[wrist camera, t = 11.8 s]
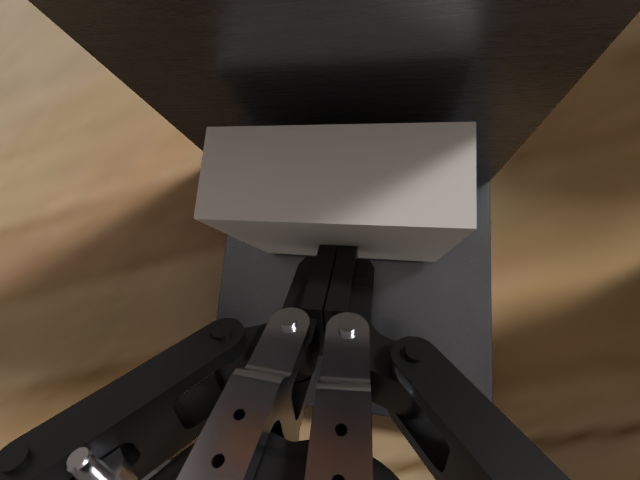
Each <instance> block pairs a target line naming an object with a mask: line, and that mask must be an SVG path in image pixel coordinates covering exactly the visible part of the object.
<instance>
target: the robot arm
mask: <svg viewBox="0 0 640 480" xmlns="http://www.w3.org/2000/svg"><path fill="white" fill-rule="evenodd" d="M374 271H375V268H374V267H373V265H372V263H371V261H370V260H364V259H358V247H357V246H339V247H338V246H336V245H320V246H319V249H318V252H317V255H316V257H310V256H306V257H305V258H304V259H303V260H302V261H301V262H300V263H299V264H298V267H297V270H296V272H295V275H294V278H293V282H292V283H291V286H290V289H289V291H288V294H287V297H286V299H285V302H284V305H283V308H282V309H281V310H279V311H277V312H276V313H274V314H273V315H272V316H271V318H270V319H269V321H268V323H265V324H262V325H257V326H252V327H246V328H244V327H243V324H242V323H241V322H240V321H239V320H237V319H234V318H222V319H219V320H216V321H214V322H212V323H211V324H209V325H207V326H206V327H204V328H202V329H201V330H199V331H197V332H195V333H194V334H192V335H190V336H189V337H187V338H185V339H184V340H182V341H180V342H179V343H177V344H175V345H174V346H172V347H170V348H169V349H167V350H165V351H163V352H162V353H160V354H158V355H157V356H155V357H153V358H152V359H150V360H148V361H147V362H145V363H143V364H142V365H140V366H138V367H137V368H135V369H133V370H131V371H130V372H128V373H126V374H125V375H123V376H121V377H120V378H118V379H116V380H115V381H113V382H111V383H110V384H108V385H106V386H104V387H103V388H101V389H99V390H98V391H96V392H94V393H93V394H91V395H89V396H88V397H86V398H84V399H83V400H81V401H79V402H78V403H76V404H74V405H72V406H71V407H69V408H67V409H66V410H64V411H62V412H61V413H59V414H57V415H56V416H54V417H52V418H51V419H49V420H47V421H46V422H44V423H42V424H40V425H39V426H37V427H35V428H34V429H32V430H30V431H29V432H27V433H25V434H24V435H22V436H20V437H19V438H17V439H15V440H14V441H12V442H11V443H9V444H8V445H7V446H5V447H4V448H3V449H2V450H1V451H0V480H141V479H143V478H144V477H145V476H147V475H148V474H149V473H151V472H152V471H153V470H154V469H156V468H157V467H158V466H160V465H161V464H162V463H164V462H165V461H166V460H168V459H169V458H170V457H171V456H173V455H174V454H175V453H177V452H178V451H179V450H181V449H182V448H183V447H184V446H186V445H187V444H188V443H190V442H191V441H192V440H194V439H195V438H196V437H197V436H199V437H198V439H197V441H196V443H194V444H192V445H191V446H189V447H188V448H186V449H185V450H184V451H183V452H181V453H180V454H179V455H178V456H176V457H175V458H174V459H173V460H172V461H170V462H169V463H168V464H167V465H165V466H164V467H163V468H162V469H161V470H159V471H158V472H157V473H156V474H154V475H153V476H152V477H151V478H149V479H148V480H399V479H398V477H397V476H396V475H395V474H394V473H393V472H392V471H391V470H390V469H388V468H387V467H386V466H385V465H384V464H382V463H381V462H379V461H378V460H376V459H375V458H373V457H372V410H371V401H372V402H374V403H376V404H378V405H380V406H382V407H384V408H386V409H387V410H388V413H389V415H390V417H391V418H392V420H393V421H394V422H395V424H396V425H397V426H398V428H399V429H400V431H401V432H402V433H403V435H404V436H405V438H406V439H407V440H408V442H409V443H410V445H411V446H412V447H413V449H414V450H415V451H416V453H417V454H418V456H419V457H420V458H421V460H422V461H423V463H424V464H425V465H426V467H427V468H428V470H429V471H430V472H431V474H432V475H433V476H434V478H435V479H436V480H570V479H569V478H568V477H567V476H566V475H565V474H564V473H563V472H562V471H561V470H560V469H559V468H558V467H557V466H556V465H555V464H554V463H553V462H552V461H551V460H550V459H549V458H548V457H547V456H546V455H545V454H544V453H543V452H542V451H541V450H540V449H539V448H538V447H537V446H536V445H535V444H534V443H532V442H531V441H530V440H529V439H528V438H527V437H526V436H525V435H524V434H523V433H522V432H521V431H520V430H519V429H518V428H517V427H516V426H515V425H514V424H513V423H512V422H511V421H510V420H509V419H508V418H507V417H506V416H505V415H504V414H503V413H502V412H501V411H500V410H499V409H498V408H497V407H496V406H495V405H494V404H493V403H492V402H491V401H490V400H489V399H488V398H487V397H486V396H485V395H484V394H483V393H482V392H481V391H480V390H479V389H478V388H477V387H476V386H475V385H474V384H473V383H472V382H471V381H469V380H468V379H467V378H466V377H465V376H464V375H463V374H462V373H461V372H460V371H459V370H458V369H457V368H456V367H455V366H454V365H453V364H452V363H451V362H450V361H449V360H448V359H447V358H446V357H445V356H444V355H443V354H442V353H441V352H440V351H439V350H438V349H437V348H436V347H435V346H434V345H433V344H432V343H430V342H429V341H427V340H425V339H423V338H420V337H416V336H407V337H403V338H400V339H399V340H397V341H395V340H392V339H390V338H387V337H385V336H383V335H382V334H380V333H379V332H378V331H377V330H376V329H375V328H374V326H373V324H372V313H373V299H374ZM318 356H322V365H321V374H320V380H318V381H317V384H316V390H315V398H314V406H313V415H312V423H311V431H310V439H309V440H304V441H299V432H300V426H301V422H302V419H303V416H304V412H305V409H306V406H307V402H308V399H309V396H310V392H311V389H312V386H313V382H314V379H315V375H316V370H315V368H316V365H317V360H318ZM212 373H213V374H212ZM209 375H210V376H209ZM206 377H207V378H206ZM205 378H206V379H205ZM203 379H204V380H203ZM202 380H203V381H202ZM200 381H201V382H200ZM199 382H200V383H199ZM197 383H198V384H197ZM196 384H197V385H196ZM194 385H195V386H194ZM193 386H194V387H193ZM191 387H192V388H191ZM190 388H191V389H190ZM188 389H189V390H188ZM187 390H188V391H187ZM184 392H185V393H184ZM181 394H182V395H181ZM180 395H181V396H180Z"/></svg>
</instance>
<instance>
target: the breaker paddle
mask: <svg viewBox="0 0 640 480" xmlns="http://www.w3.org/2000/svg"><path fill="white" fill-rule="evenodd" d="M193 219H195V220H197V221H199V222H201V223H203V224H206V225H208V226H210V227H212V228H214V229H217V230H219V231H221V232H223V233H225V234H227V235H230V236H232V237H234V238H236V239H238V240H241V241H243V242H245V243H247V244H249V245H251V246H254V247H256V248H258V249H260V250H262V251H265V252H267V253H275V254H294V255H313V256H316V255H317V252H318V249H319V246H320V245H336V246H338V247H339V246H357V247H358V258H369V259H388V260H407V261H426V262H436V261H437V260H438V259H439V258H441V257H442V256H443V255H444V254H446V253H447V252H448V251H449V250H451V249H452V248H453V247H454V246H456V245H457V244H458V243H459V242H461V241H462V240H463V239H464V238H466V237H467V236H468V235H470V234H471V233H472V232H473V231H475V230H476V229H477V196H476V122H433V123H382V124H330V125H279V126H228V127H207V129H206V135H205V142H204V149H203V156H202V163H201V170H200V177H199V184H198V191H197V197H196V204H195V211H194V218H193Z"/></svg>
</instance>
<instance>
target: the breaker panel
mask: <svg viewBox="0 0 640 480" xmlns="http://www.w3.org/2000/svg"><path fill="white" fill-rule="evenodd" d="M28 1H30V2H31V3H32V4H33V5H34V6H35V7H37V8H38V9H39V10H40V11H41V12H42V13H44V14H45V15H46V16H47V17H48V18H49V19H50V20H52V21H53V22H54V23H55V24H56V25H57V26H59V27H60V28H61V29H62V30H63V31H64V32H66V33H67V34H68V35H69V36H70V37H71V38H72V39H74V40H75V41H76V42H77V43H78V44H79V45H81V46H82V47H83V48H84V49H85V50H86V51H88V52H89V53H90V54H91V55H92V56H93V57H95V58H96V59H97V60H98V61H99V62H100V63H101V64H103V65H104V66H105V67H106V68H107V69H108V70H110V71H111V72H112V73H113V74H114V75H115V76H117V77H118V78H119V79H120V80H121V81H122V82H123V83H125V84H126V85H127V86H128V87H129V88H130V89H132V90H133V91H134V92H135V93H136V94H137V95H139V96H140V97H141V98H142V99H143V100H144V101H145V102H147V103H148V104H149V105H150V106H151V107H152V108H154V109H155V110H156V111H157V112H158V113H159V114H161V115H162V116H163V117H164V118H165V119H166V120H167V121H169V122H170V123H171V124H172V125H173V126H174V127H176V128H177V129H178V130H179V131H180V132H181V133H183V134H184V135H185V136H186V137H187V138H188V139H189V140H191V141H192V142H193V143H194V144H195V145H196V146H198V147H199V148H200V149H201V150H202V151H203V149H204V142H205V135H206V129H207V127H228V126H279V125H330V124H382V123H433V122H476V196H477V229H476V230H475V231H473V232H472V233H471V234H470V235H468V236H467V237H466V238H464V239H463V240H462V241H461V242H459V243H458V244H457V245H456V246H454V247H453V248H452V249H451V250H449V251H448V252H447V253H446V254H444V255H443V256H442V257H441V258H439V259H438V260H437V261H436V262H426V261H407V260H388V259H369V258H358V259H364V260H370V261H371V263H372V265H373V267H374V268H375V271H374V299H373V313H372V324H373V326H374V328H375V329H376V330H377V331H378V332H379V333H380V334H382V335H383V336H385V337H387V338H390V339H392V340H395V341H397V340H399V339H400V338H403V337H407V336H416V337H420V338H423V339H425V340H427V341H429V342H430V343H432V344H433V345H434V346H435V347H436V348H437V349H438V350H439V351H440V352H441V353H442V354H443V355H444V356H445V357H446V358H447V359H448V360H449V361H450V362H451V363H452V364H453V365H454V366H455V367H456V368H457V369H458V370H459V371H460V372H461V373H462V374H463V375H464V376H465V377H466V378H467V379H468V380H469V381H471V382H472V383H473V384H474V385H475V386H476V387H477V388H478V389H479V390H480V391H481V392H482V393H483V394H484V395H485V396H486V397H487V398H488V399H489V400H490V401H491V402H492V403H493V399H492V311H491V223H490V181H491V179H492V178H493V177H494V176H495V175H496V174H497V173H498V171H499V170H500V169H501V168H502V167H503V166H504V165H505V163H506V162H507V161H508V160H509V159H510V158H511V157H512V156H513V154H514V153H515V152H516V151H517V150H518V149H519V148H520V146H521V145H522V144H523V143H524V142H525V141H526V140H527V138H528V137H529V136H530V135H531V134H532V133H533V132H534V131H535V129H536V128H537V127H538V126H539V125H540V124H541V123H542V121H543V120H544V119H545V118H546V117H547V116H548V115H549V113H550V112H551V111H552V110H553V109H554V108H555V107H556V106H557V104H558V103H559V102H560V101H561V100H562V99H563V98H564V96H565V95H566V94H567V93H568V92H569V91H570V90H571V88H572V87H573V86H574V85H575V84H576V83H577V82H578V81H579V79H580V78H581V77H582V76H583V75H584V74H585V73H586V71H587V70H588V69H589V68H590V67H591V66H592V65H593V63H594V62H595V61H596V60H597V59H598V58H599V57H600V56H601V54H602V53H603V52H604V51H605V50H606V49H607V48H608V46H609V45H610V44H611V43H612V42H613V41H614V40H615V38H616V37H617V36H618V35H619V34H620V33H621V32H622V31H623V29H624V28H625V27H626V26H627V25H628V24H629V23H630V21H631V20H632V19H633V18H634V17H635V16H636V15H637V13H638V12H639V11H640V0H28ZM306 256H310V257H316V256H313V255H294V254H275V253H267V252H265V251H262V250H260V249H258V248H256V247H254V246H251V245H249V244H247V243H245V242H243V241H241V240H238V239H236V238H234V237H232V236H230V235H227V241H226V249H225V257H224V265H223V273H222V281H221V289H220V297H219V305H218V313H217V320H219V319H222V318H234V319H237V320H239V321H240V322H241V323H242V324H243V327H244V328H246V327H252V326H257V325H262V324H265V323H268V321H269V319H270V318H271V316H272V315H273V314H274V313H276V312H277V311H279V310H281V309H282V308H283V305H284V302H285V299H286V297H287V294H288V291H289V289H290V286H291V283H292V282H293V278H294V275H295V272H296V270H297V267H298V264H299V263H300V262H301V261H302V260H303V259H304V258H305V257H306ZM321 365H322V356H318V360H317V365H316V368H315V370H316V375H315V379H314V382H313V386H312V389H311V392H310V396H309V399H308V402H307V405H309V406H314V398H315V390H316V384H317V381H318V380H320V374H321ZM212 374H213V373H212ZM371 410H372V414H375V415H382V416H390V415H389V413H388V410H387V409H386V408H384V407H382V406H380V405H378V404H376V403H374V402H372V401H371Z"/></svg>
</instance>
